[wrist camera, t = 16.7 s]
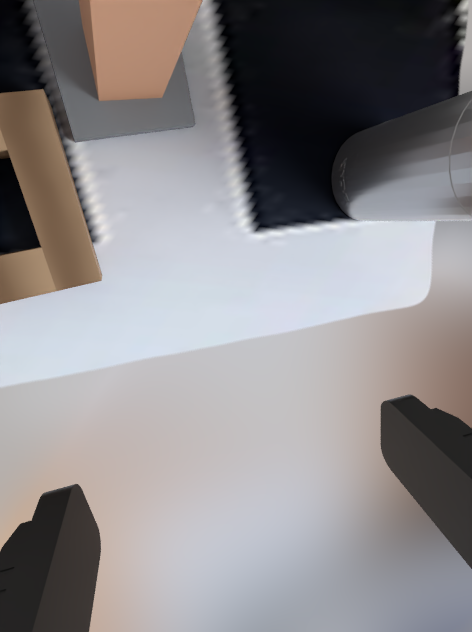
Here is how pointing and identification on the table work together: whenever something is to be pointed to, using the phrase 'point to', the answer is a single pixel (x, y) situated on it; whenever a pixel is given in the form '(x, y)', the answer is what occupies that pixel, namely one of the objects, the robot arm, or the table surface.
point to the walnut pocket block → (43, 203)
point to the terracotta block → (135, 44)
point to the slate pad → (80, 90)
